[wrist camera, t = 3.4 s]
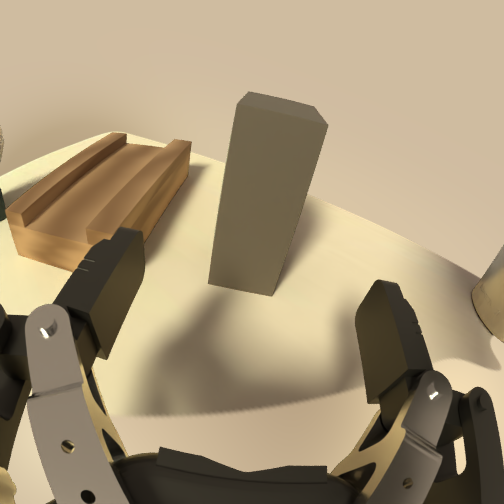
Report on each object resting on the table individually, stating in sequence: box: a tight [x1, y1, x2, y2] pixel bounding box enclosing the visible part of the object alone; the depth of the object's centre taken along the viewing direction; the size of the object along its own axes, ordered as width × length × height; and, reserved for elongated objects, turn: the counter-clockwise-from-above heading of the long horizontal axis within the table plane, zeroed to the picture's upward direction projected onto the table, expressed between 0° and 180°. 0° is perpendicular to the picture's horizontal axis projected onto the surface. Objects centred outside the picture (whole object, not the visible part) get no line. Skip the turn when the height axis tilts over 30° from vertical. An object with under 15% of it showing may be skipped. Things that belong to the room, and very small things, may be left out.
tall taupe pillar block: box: [208, 92, 328, 296], centre depth 19 cm, size 5×6×12 cm
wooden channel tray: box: [5, 132, 192, 272], centre depth 24 cm, size 10×18×4 cm, turn 175°
